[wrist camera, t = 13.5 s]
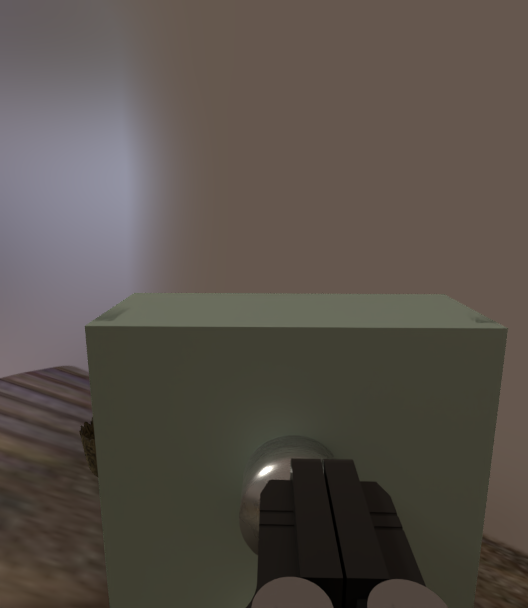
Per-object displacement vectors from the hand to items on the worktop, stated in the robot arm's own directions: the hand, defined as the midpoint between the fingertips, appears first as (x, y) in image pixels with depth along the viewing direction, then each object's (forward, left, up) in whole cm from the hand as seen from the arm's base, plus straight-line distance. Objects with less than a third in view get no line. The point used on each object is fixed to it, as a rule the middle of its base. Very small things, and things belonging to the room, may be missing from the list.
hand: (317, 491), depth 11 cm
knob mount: (+11, +10, -27) cm, 31 cm away
